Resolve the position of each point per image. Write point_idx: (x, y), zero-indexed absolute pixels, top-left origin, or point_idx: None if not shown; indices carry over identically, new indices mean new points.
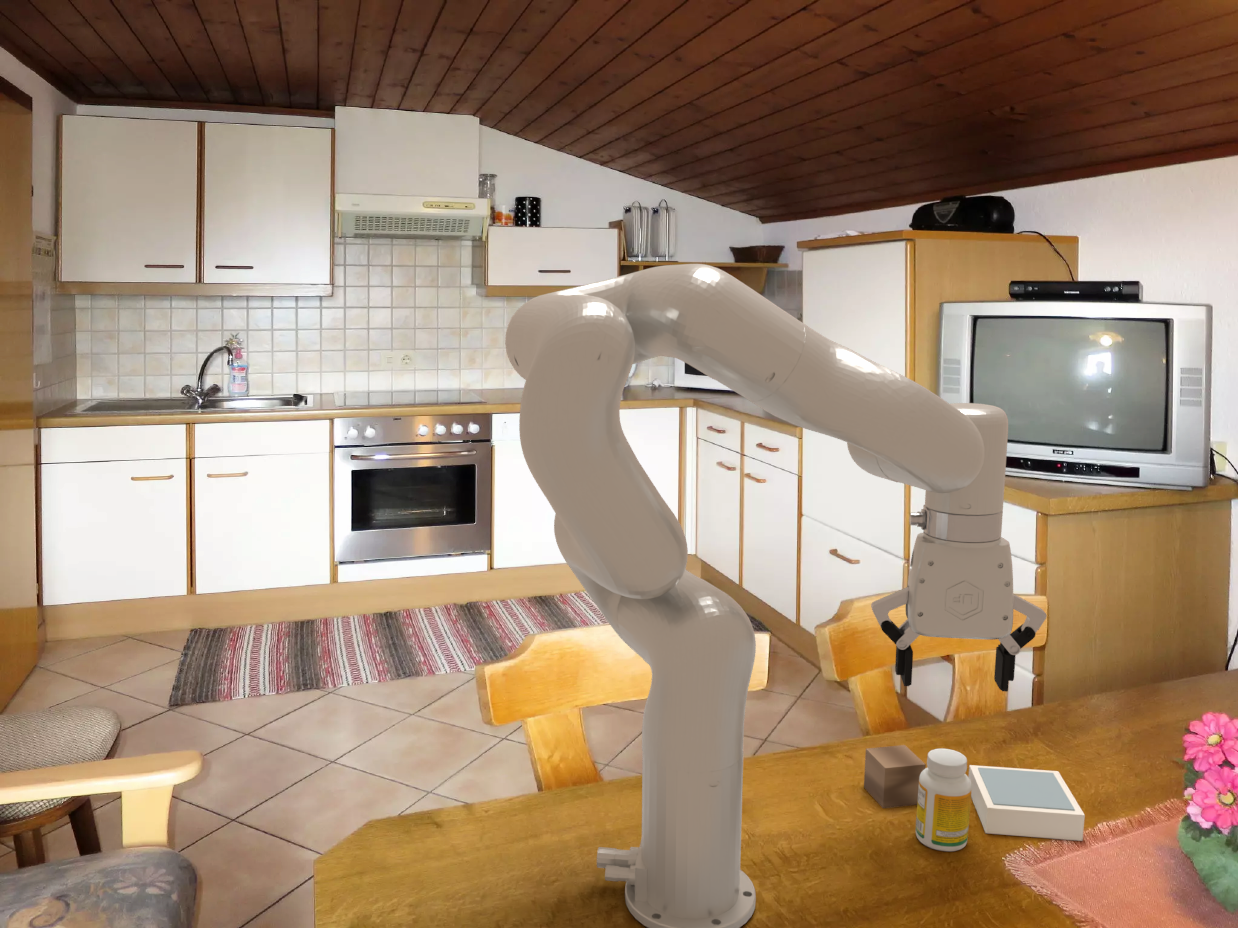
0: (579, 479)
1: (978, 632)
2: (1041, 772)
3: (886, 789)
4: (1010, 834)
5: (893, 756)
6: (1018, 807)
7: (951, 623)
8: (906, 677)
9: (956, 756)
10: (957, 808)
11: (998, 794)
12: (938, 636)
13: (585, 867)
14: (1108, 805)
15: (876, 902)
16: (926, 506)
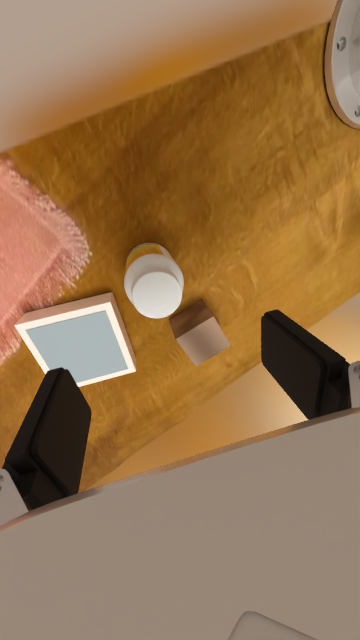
0: None
1: (111, 523)
2: None
3: (204, 307)
4: (90, 297)
5: (205, 341)
6: (80, 314)
7: (306, 533)
8: (284, 318)
9: (146, 302)
10: (136, 255)
11: (103, 329)
12: (307, 421)
13: None
14: (17, 378)
15: (202, 110)
16: None
